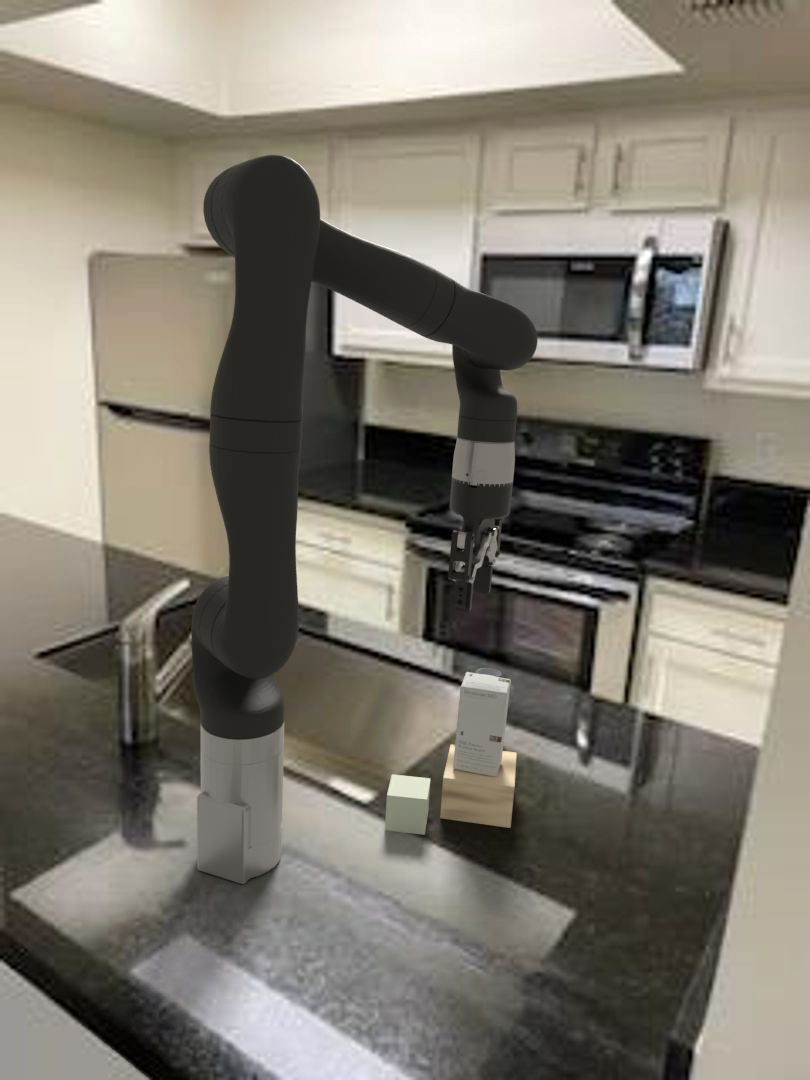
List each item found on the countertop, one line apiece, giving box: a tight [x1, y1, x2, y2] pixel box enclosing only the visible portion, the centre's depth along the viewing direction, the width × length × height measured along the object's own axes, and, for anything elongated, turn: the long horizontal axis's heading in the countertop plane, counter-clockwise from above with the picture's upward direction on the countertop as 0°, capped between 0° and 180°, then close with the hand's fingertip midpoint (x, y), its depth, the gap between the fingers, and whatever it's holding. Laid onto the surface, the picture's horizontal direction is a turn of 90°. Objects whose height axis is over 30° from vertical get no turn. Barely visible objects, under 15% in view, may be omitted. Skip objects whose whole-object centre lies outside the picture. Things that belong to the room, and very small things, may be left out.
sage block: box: [384, 773, 431, 836], centre depth 106 cm, size 5×5×5 cm
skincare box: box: [453, 671, 512, 776], centre depth 108 cm, size 6×4×12 cm
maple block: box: [439, 743, 518, 829], centre depth 111 cm, size 9×9×6 cm
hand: (471, 601), depth 107 cm, fingers open, 8 cm apart
